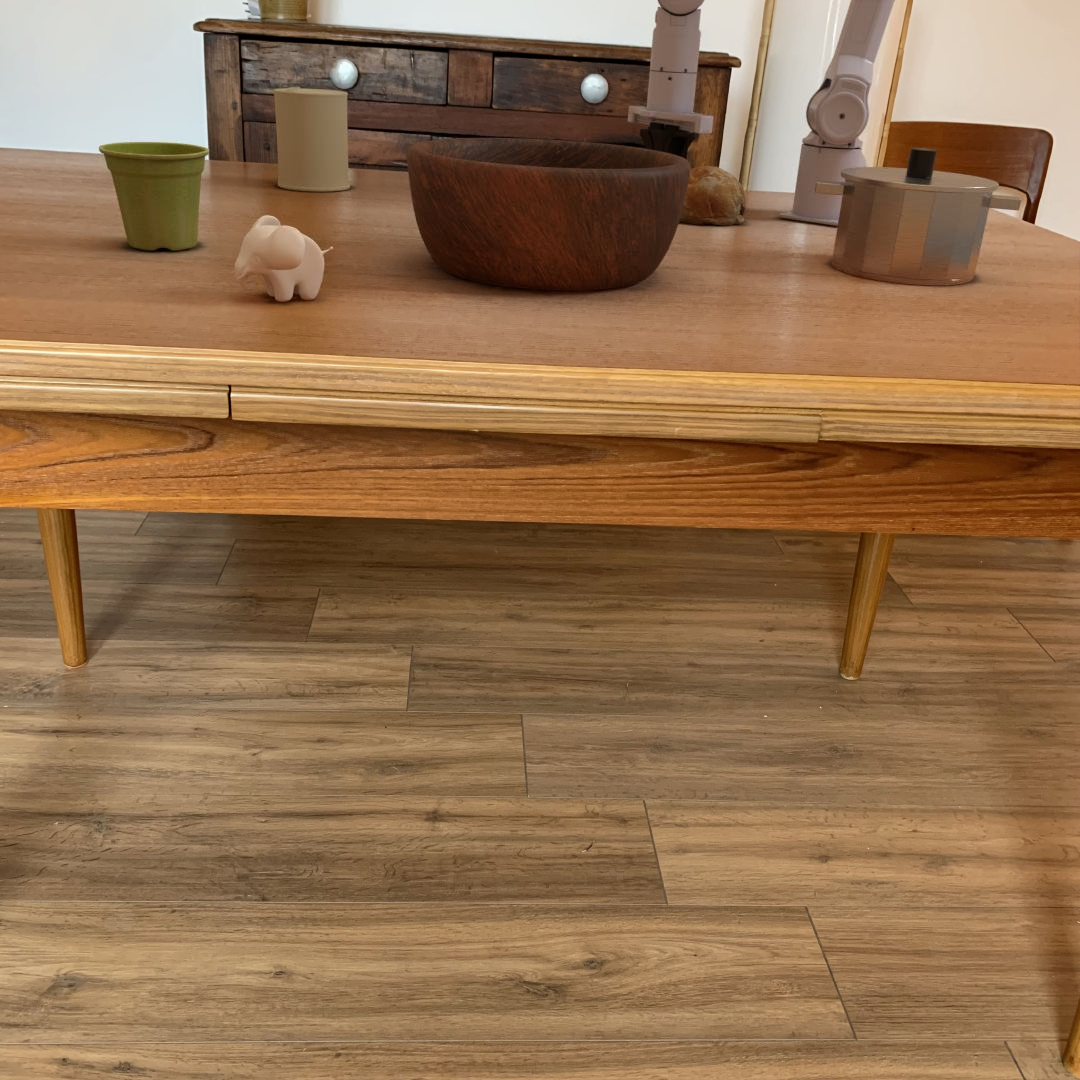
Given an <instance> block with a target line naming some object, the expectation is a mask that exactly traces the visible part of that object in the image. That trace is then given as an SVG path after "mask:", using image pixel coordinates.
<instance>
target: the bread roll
mask: <svg viewBox="0 0 1080 1080" xmlns="http://www.w3.org/2000/svg"><path fill="white" fill-rule="evenodd" d="M746 203H747V202H746V195H745V191H744V187H743V185H742V184H741V182H740V180H738V179H737V178H736V176H735V175H733V174H732V173H730V172H728V171H726V170H724V169H723V168H721V167H717V166H715V165H714V166H713V165H699V166H696V167H692V168H691V173H690V179H689V184H688V188H687V192H686V197H685V201H684V205H683V209H682V213H681V217H680V220H679V223H683V224H691V225H698V226H701V225H714V226H732V225H741V224H742V223H744V222H745V218H744V214H745V211H746Z"/></svg>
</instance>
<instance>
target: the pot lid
mask: <svg viewBox="0 0 1080 1080" xmlns="http://www.w3.org/2000/svg"><path fill="white" fill-rule="evenodd" d="M909 151H910V152H909V157H908V163H907V166H906V168H905V167H886V166H884V167H883V166H867V167H854V168H846V169H843V170H842V171H841V177H843V178H845V179H847V180H851V181H855V182H859V183H864V184H870V185H876V186H883V187H890V188H899V189H908V190H919V191H932V192H950V193H984V192H992V191H993V192H995V191H997V190H998V189H999V186H1000V184H999V182H997V181H995V180H993V179H991V178H990V179H989V178H986V177H981V176H977V175H970V174H963V173H958V172H957V173H955V172H949V171H940V170H934V169H935V165H936V164H935V163H936V159H937V152H938V150H937V149H935V148H925V147H912V148H910V150H909Z"/></svg>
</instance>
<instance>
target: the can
mask: <svg viewBox="0 0 1080 1080" xmlns="http://www.w3.org/2000/svg"><path fill="white" fill-rule="evenodd" d="M348 95H349V94H348V92H347V91H343V90H336V89H335V90H333V89H323V88H302V87H300V86H291V87H287V88H286V87H285V88H274V89H273V96H274V109H275V128H276V129H275V130H276V147H277V150H276V151H277V172H278V173H277V175H278V176H277V178H278V180H277V186H278V187H280V188H281V189H284V190H290V191H297V192H313V193H315V192H319V193H320V192H321V193H323V192H325V193H326V192H327V193H329V192H339V191H340V192H341V191H346V190H349V189H351V184H350V174H349V173H350V172H349V170H350V169H349V140H348V139H349V136H348V135H349V134H348Z"/></svg>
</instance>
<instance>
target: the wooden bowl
mask: <svg viewBox="0 0 1080 1080" xmlns="http://www.w3.org/2000/svg"><path fill="white" fill-rule="evenodd" d="M406 164H407V165H406V166H407V173H408V180H409V181H408V182H409V188H410V196H411V202H412V208H413V212H414V213H413V214H414V217H415V221H416V225H417V227H418V230H419V234H420V238H421V240H422V242H423V244H424V246H425V248H426V250H427V252H428V254H429V255H430V257H431V258H432V260H433V262H434V263H435V264H436V265H437V266H438V267H439V268H440V269H441V270H442V271H444V272H446V273H448V274H450V275H453V276H455V277H459V278H461V279H466V280H469V281H472V282H478V283H484V284H488V285H496V286H502V287H509V288H518V289H530V290H545V291H547V290H548V291H588V290H590V291H591V290H592V291H593V290H605V289H613V288H621V287H626V286H631V285H635V284H637V283H641V282H643V281H645V280H646V279H647V278H649V277H650V276H651V275H653V273H654V272H655V271H656V270H657V269H658V267H659V266H660V265H661V263H662V261H663V260H664V258H665V256H666V255H667V253H668V251H669V250H670V247H671V245H672V243H673V240H674V238H675V235H676V233H677V230H678V227H679V223H680V222H679V220H680V217H681V213H682V209H683V205H684V201H685V197H686V192H687V188H688V184H689V179H690V173H691V169H692V168H691V167H692V166H691V163H690V162H689V161H688V160H687V159H686V158H685V157H683V158H682V157H680V156H677V155H673V154H669V153H665V152H660V151H655V150H650V149H646V148H643V147H636V146H628V145H620V144H612V143H601V142H590V141H577V140H563V139H549V138H548V139H547V138H546V139H544V138H524V137H523V138H522V137H521V138H520V137H519V138H518V137H463V138H462V137H461V138H460V137H458V138H444V139H443V138H442V139H432V140H425V141H421V142H416V143H413V144H412V145H410V146H409V147H408V148H407V152H406Z"/></svg>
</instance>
